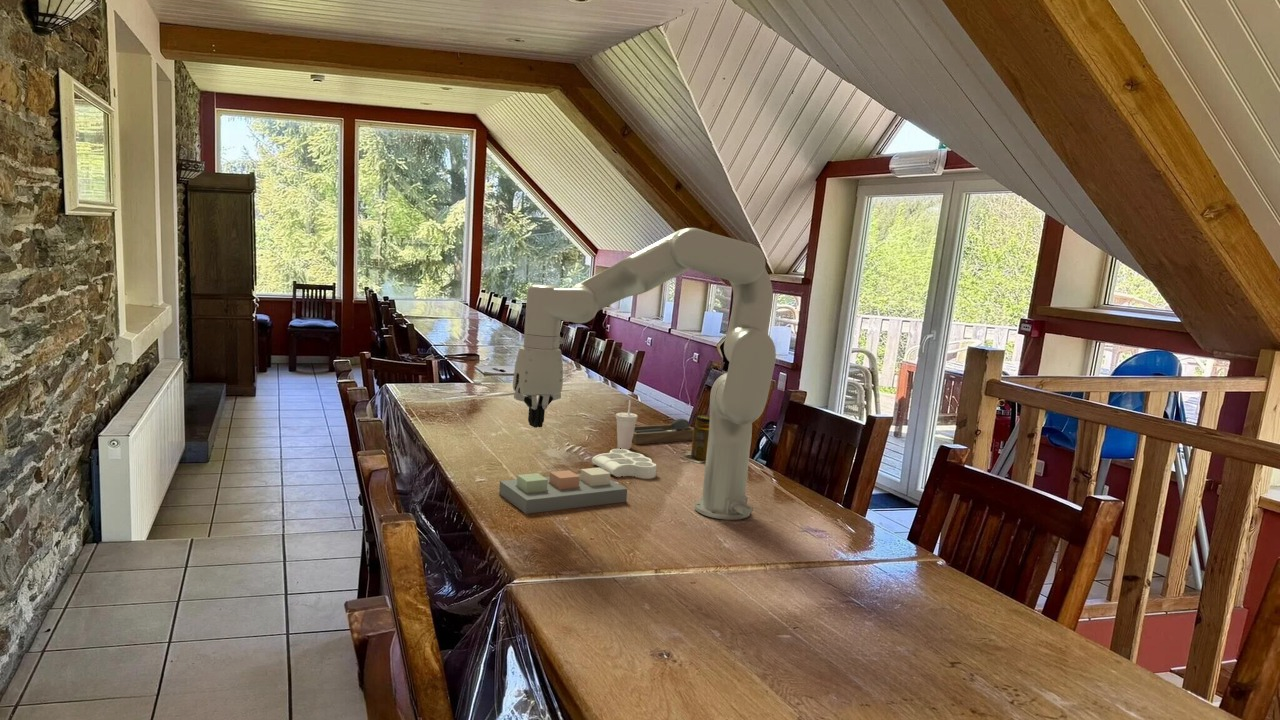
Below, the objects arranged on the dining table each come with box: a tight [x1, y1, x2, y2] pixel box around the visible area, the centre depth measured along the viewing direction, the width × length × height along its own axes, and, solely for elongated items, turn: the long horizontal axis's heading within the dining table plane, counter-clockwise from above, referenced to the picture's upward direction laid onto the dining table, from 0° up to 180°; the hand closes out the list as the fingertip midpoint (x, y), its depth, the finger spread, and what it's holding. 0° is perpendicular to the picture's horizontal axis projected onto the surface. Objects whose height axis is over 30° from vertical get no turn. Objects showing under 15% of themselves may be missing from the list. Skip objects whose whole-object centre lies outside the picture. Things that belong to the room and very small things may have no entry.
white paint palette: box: [591, 448, 657, 479], centre depth 209 cm, size 3×18×15 cm
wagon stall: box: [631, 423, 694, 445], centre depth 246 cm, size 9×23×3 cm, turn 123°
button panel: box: [498, 472, 628, 515], centre depth 181 cm, size 14×25×3 cm, turn 123°
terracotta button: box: [549, 469, 580, 490], centre depth 181 cm, size 5×5×4 cm
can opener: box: [634, 418, 690, 433], centre depth 245 cm, size 19×5×6 cm, turn 124°
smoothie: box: [615, 399, 639, 450], centre depth 230 cm, size 6×6×14 cm
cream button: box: [580, 466, 611, 486], centre depth 186 cm, size 5×5×4 cm
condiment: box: [679, 414, 710, 464], centre depth 226 cm, size 7×8×12 cm
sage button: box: [516, 472, 548, 493], centre depth 177 cm, size 5×5×4 cm
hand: (535, 425), depth 175 cm, fingers closed
